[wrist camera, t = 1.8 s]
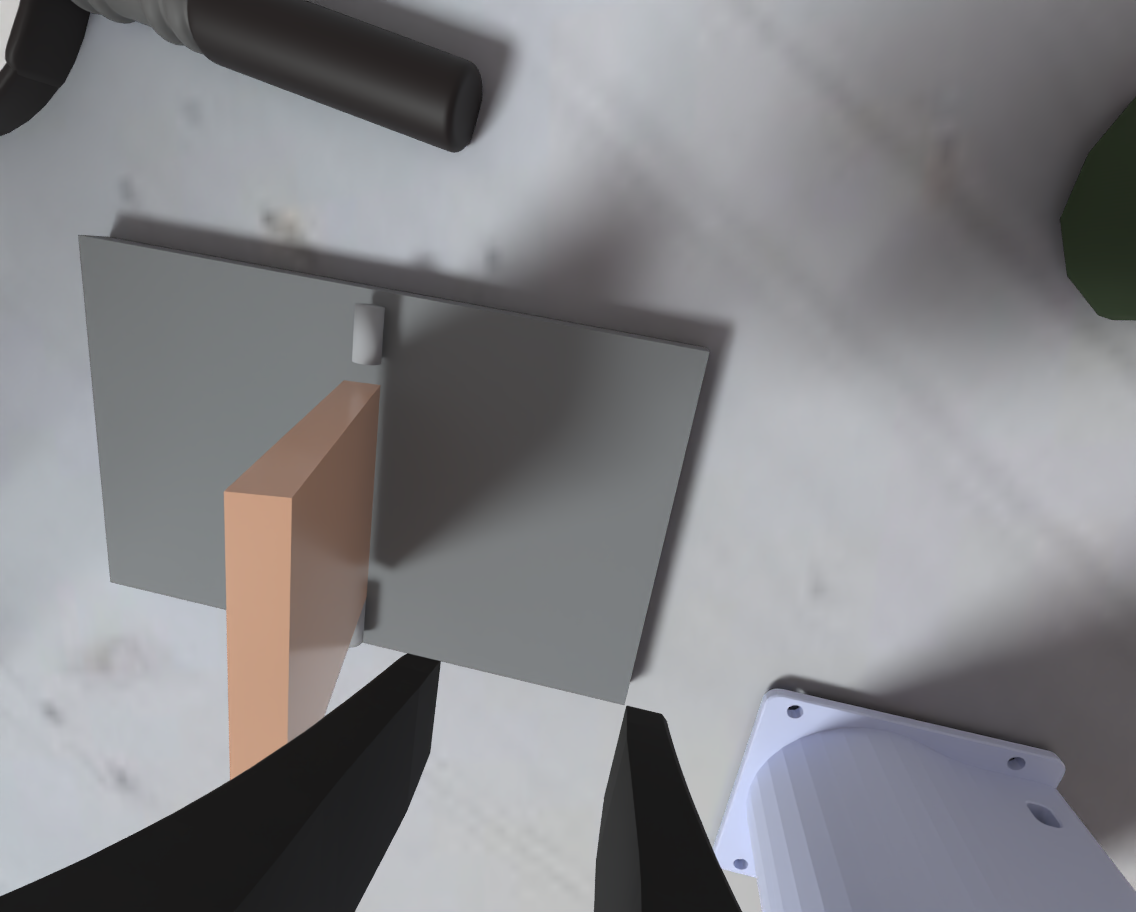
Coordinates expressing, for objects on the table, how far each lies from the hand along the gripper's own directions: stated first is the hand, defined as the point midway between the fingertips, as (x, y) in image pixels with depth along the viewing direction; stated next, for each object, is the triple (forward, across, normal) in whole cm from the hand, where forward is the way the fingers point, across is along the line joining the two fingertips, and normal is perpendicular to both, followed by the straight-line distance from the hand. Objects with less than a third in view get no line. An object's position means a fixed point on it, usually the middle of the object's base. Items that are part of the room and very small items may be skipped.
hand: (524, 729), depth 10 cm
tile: (+4, +5, 0) cm, 6 cm away
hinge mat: (+9, +7, 0) cm, 12 cm away
